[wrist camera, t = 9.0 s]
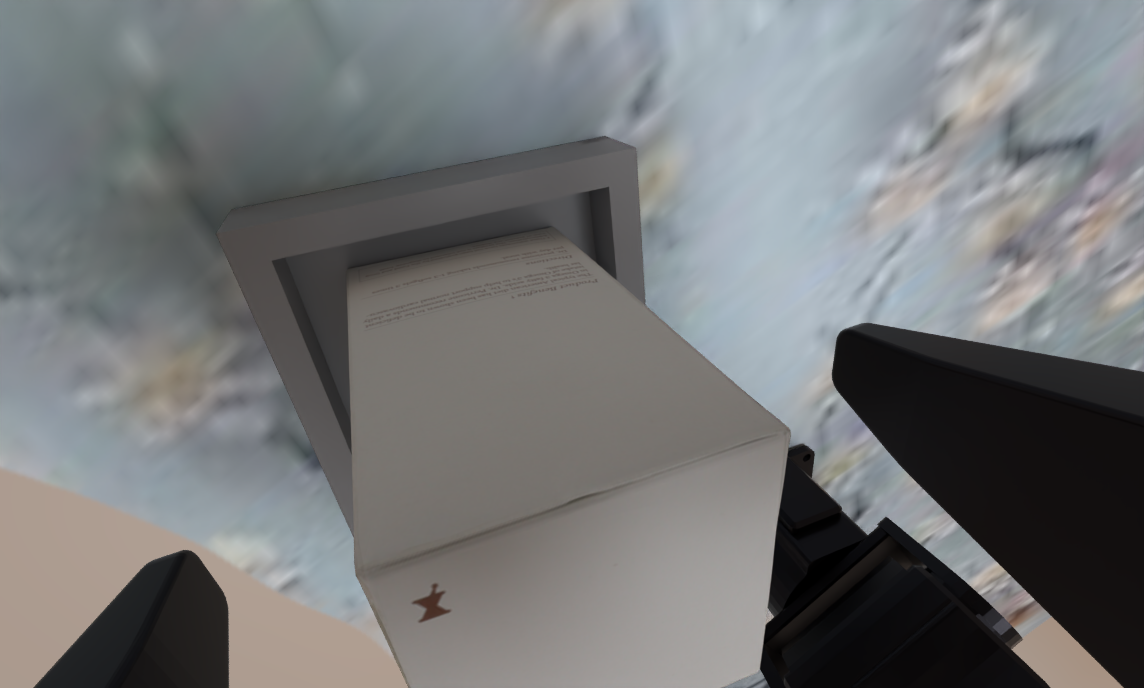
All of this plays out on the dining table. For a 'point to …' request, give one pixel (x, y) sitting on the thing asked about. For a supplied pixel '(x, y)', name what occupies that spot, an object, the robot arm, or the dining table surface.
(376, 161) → the dining table surface
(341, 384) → the tray
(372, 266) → the supplement box
